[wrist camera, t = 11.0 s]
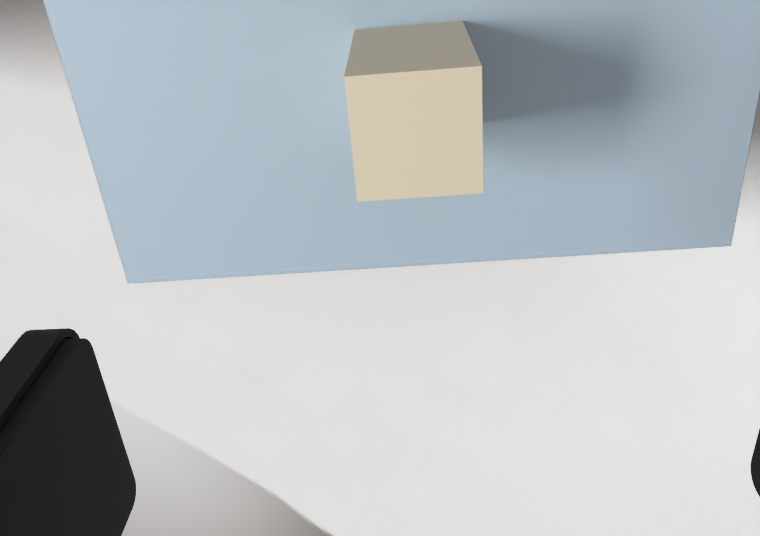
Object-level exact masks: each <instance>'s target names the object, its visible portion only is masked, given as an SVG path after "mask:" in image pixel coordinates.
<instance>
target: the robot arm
mask: <svg viewBox="0 0 760 536" xmlns="http://www.w3.org/2000/svg"><path fill="white" fill-rule="evenodd" d="M751 475H752V480H753V483H754V486H755V488H756V491H757V493H758V494H759V496H760V430H759V434H758V438H757V442H756V445H755V449H754V453H753V457H752V461H751ZM135 495H136V483H135V478H134V475H133V472H132V469H131V466H130V463H129V460H128V456H127V454H126V450H125V447H124V444H123V441H122V438H121V435H120V431H119V428H118V425H117V422H116V419H115V416H114V413H113V410H112V407H111V404H110V400H109V397H108V394H107V391H106V388H105V385H104V382H103V379H102V376H101V372H100V369H99V366H98V363H97V360H96V357H95V354H94V351H93V348H92V346H91V343H90V342H89V341H88V340H87V339H80V338H79V336H78V334H77V333H76V332H75V331H74V330H72V329H46V330H30V331H26V332H25V333H24V334H23V335H21V337H20V338H19V339H18V340H17V342H16V343H15V344H14V345H13V347H12V348H11V349H10V350H9V352H8V353H7V354H6V356H5V357H4V358H3V359H2V360H1V362H0V536H121V534H122V532H123V530H124V527H125V525H126V522H127V520H128V518H129V515H130V513H131V510H132V508H133V505H134V501H135Z"/></svg>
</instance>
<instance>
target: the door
mask: <svg viewBox="0 0 760 536" xmlns="http://www.w3.org/2000/svg"><path fill="white" fill-rule="evenodd" d="M43 2H44V5H45V9H46V12H47V15H48V19H49V22H50V25H51V29H52V32H53V35H54V39H55V42H56V45H57V49H58V52H59V55H60V59H61V62H62V65H63V69H64V72H65V75H66V79H67V82H68V85H69V89H70V92H71V95H72V99H73V102H74V105H75V109H76V112H77V115H78V119H79V122H80V125H81V129H82V132H83V135H84V139H85V142H86V145H87V149H88V152H89V155H90V159H91V162H92V165H93V169H94V172H95V175H96V179H97V182H98V186H99V189H100V192H101V196H102V199H103V202H104V206H105V209H106V212H107V216H108V219H109V222H110V226H111V229H112V232H113V236H114V239H115V242H116V246H117V249H118V252H119V256H120V259H121V262H122V266H123V269H124V272H125V276H126V279H127V282H128V283H144V282H160V281H176V280H192V279H208V278H224V277H240V276H256V275H272V274H288V273H304V272H320V271H336V270H352V269H368V268H385V267H401V266H417V265H433V264H449V263H465V262H481V261H497V260H513V259H529V258H545V257H561V256H577V255H593V254H609V253H625V252H641V251H657V250H673V249H689V248H705V247H721V246H731V243H732V238H733V233H734V227H735V222H736V216H737V211H738V206H739V200H740V195H741V189H742V184H743V179H744V173H745V168H746V162H747V157H748V152H749V146H750V141H751V135H752V130H753V125H754V119H755V114H756V108H757V103H758V98H759V92H760V0H43Z"/></svg>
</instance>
